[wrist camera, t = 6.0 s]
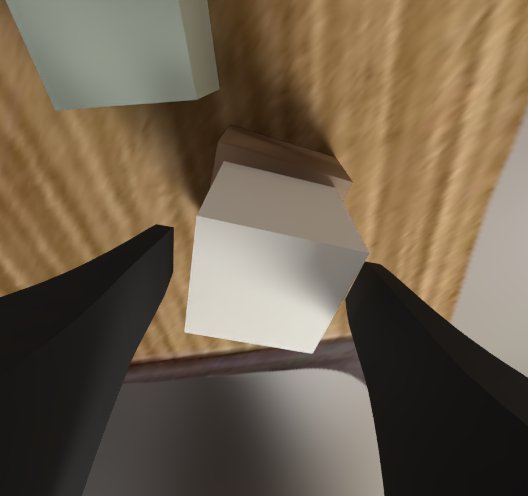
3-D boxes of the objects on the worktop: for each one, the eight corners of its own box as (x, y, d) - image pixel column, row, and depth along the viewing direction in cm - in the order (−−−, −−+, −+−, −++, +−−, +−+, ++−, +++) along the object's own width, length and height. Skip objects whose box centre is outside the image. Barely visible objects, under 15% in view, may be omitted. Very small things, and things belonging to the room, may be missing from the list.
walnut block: (211, 219, 17) (197, 256, 14) (230, 123, 14) (217, 141, 11) (298, 242, 18) (303, 281, 15) (335, 156, 15) (353, 182, 12)
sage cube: (121, 96, 13) (55, 110, 9) (75, -48, 11) (-49, -118, 7) (219, 89, 13) (196, 100, 9) (199, -61, 10) (152, -144, 6)
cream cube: (210, 254, 14) (184, 332, 10) (224, 160, 11) (196, 215, 7) (300, 272, 15) (312, 353, 11) (335, 187, 12) (369, 252, 8)
